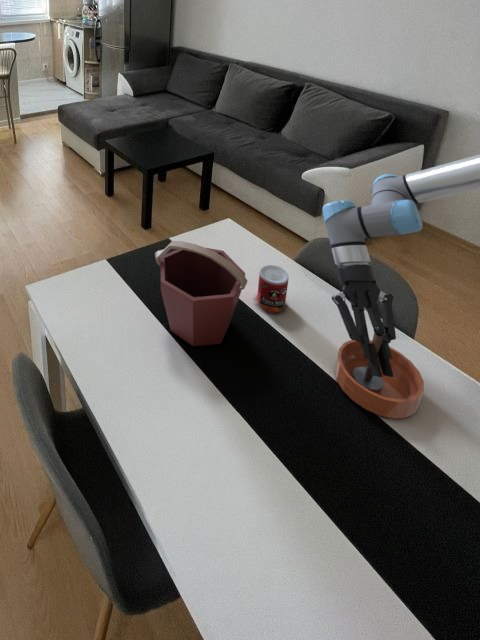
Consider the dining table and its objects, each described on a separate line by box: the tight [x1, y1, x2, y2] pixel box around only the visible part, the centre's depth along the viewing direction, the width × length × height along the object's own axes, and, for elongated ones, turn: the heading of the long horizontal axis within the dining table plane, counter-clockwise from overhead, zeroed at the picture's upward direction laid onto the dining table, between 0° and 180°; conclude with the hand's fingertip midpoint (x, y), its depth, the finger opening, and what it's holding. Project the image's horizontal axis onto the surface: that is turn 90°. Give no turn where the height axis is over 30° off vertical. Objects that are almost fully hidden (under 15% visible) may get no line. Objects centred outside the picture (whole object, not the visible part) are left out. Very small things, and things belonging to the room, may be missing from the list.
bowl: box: [334, 339, 425, 419], centre depth 100 cm, size 16×16×6 cm
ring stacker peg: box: [352, 326, 386, 393], centre depth 97 cm, size 6×6×17 cm
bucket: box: [154, 240, 248, 347], centre depth 118 cm, size 24×22×25 cm
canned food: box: [256, 264, 290, 314], centre depth 125 cm, size 8×8×11 cm
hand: (382, 375), depth 94 cm, fingers closed on ring stacker peg, 2 cm apart
